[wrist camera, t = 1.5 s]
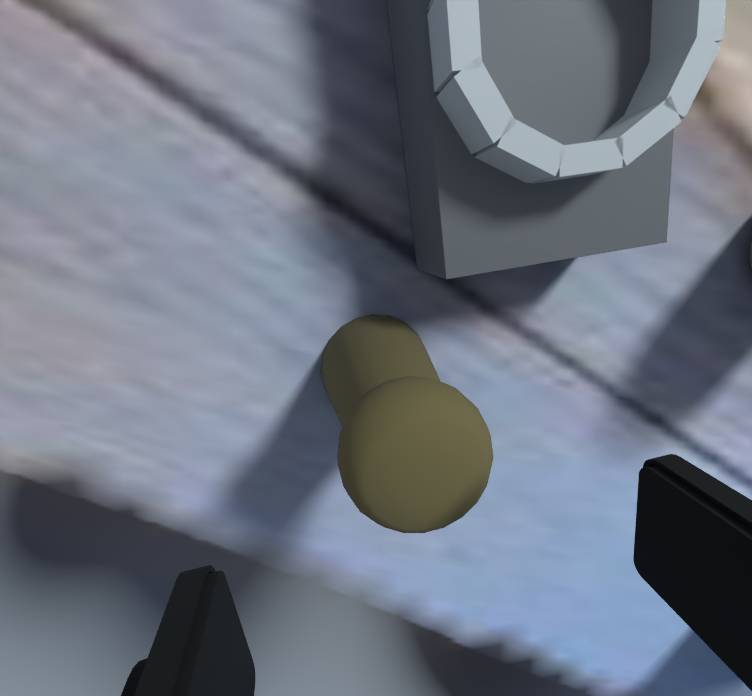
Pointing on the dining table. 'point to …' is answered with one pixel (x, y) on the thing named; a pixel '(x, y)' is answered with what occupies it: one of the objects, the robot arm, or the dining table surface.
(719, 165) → the dining table surface
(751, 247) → the soda can
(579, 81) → the grey ring base
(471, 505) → the olive joystick knob
